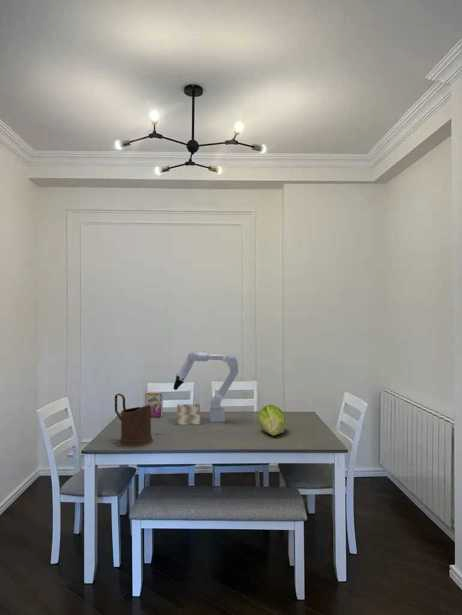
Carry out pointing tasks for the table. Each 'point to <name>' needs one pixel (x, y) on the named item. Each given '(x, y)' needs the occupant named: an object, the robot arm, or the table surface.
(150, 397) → the candy bar box
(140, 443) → the brown metal pitcher
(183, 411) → the flip panel
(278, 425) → the lettuce
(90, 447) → the table surface
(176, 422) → the grey long block
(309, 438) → the table surface
